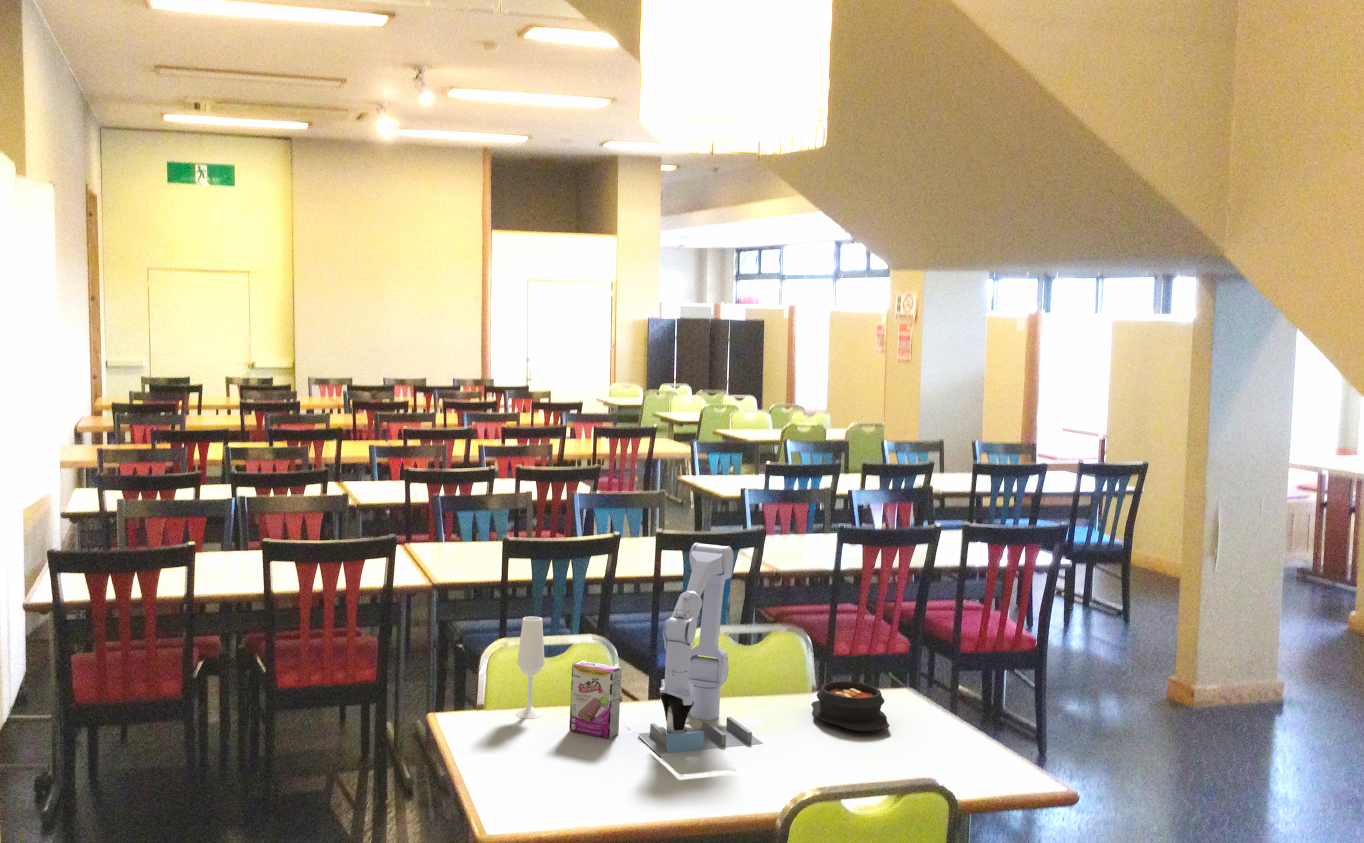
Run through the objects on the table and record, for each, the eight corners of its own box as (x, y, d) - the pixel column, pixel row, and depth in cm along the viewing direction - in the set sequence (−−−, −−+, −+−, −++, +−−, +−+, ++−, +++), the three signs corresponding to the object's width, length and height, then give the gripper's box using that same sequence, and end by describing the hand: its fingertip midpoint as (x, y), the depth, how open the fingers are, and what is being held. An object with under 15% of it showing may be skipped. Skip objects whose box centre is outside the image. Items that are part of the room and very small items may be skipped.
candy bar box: (568, 731, 287) (570, 663, 286) (578, 725, 291) (581, 659, 290) (609, 740, 282) (612, 671, 281) (619, 734, 287) (622, 666, 285)
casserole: (907, 735, 296) (908, 701, 295) (839, 740, 289) (841, 706, 289) (858, 704, 319) (859, 673, 318) (794, 709, 312) (796, 677, 312)
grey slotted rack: (637, 737, 285) (638, 716, 284) (737, 728, 294) (738, 708, 294) (659, 757, 272) (660, 736, 271) (763, 747, 282) (764, 726, 281)
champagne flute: (536, 719, 294) (539, 623, 293) (510, 716, 296) (514, 620, 294) (546, 712, 301) (550, 617, 299) (521, 708, 302) (525, 614, 301)
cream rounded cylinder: (663, 730, 281) (665, 705, 281) (679, 729, 283) (681, 704, 283) (670, 735, 278) (671, 710, 277) (686, 734, 279) (687, 709, 279)
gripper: (650, 661, 284) (647, 718, 285) (673, 678, 271) (670, 738, 272) (678, 660, 287) (675, 716, 288) (702, 676, 274) (699, 735, 275)
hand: (674, 726), depth 280 cm, fingers closed on cream rounded cylinder, 4 cm apart
